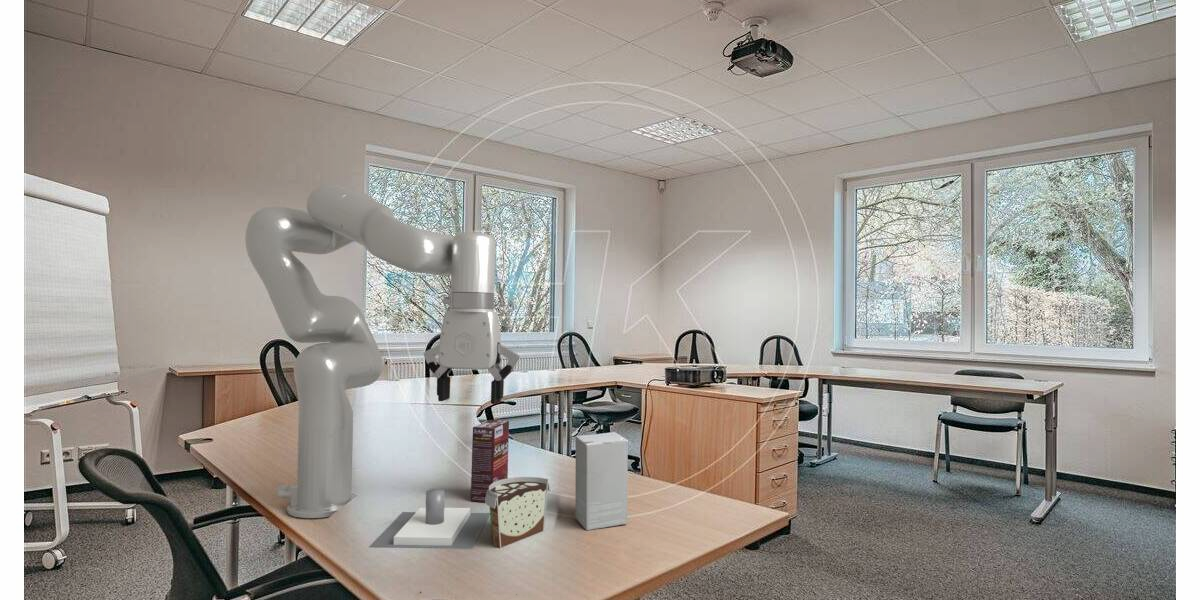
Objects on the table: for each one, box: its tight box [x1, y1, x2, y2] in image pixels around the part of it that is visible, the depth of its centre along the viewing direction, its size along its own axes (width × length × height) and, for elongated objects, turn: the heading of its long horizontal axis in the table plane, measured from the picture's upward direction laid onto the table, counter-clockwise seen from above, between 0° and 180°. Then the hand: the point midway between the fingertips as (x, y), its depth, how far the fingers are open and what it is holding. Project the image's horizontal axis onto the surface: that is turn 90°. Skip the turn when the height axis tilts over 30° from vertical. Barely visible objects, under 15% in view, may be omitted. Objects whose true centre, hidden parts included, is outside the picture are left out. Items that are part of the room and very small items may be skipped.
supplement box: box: [470, 419, 510, 504], centre depth 117 cm, size 9×5×16 cm, turn 168°
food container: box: [484, 476, 551, 549], centre depth 97 cm, size 12×6×10 cm, turn 141°
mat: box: [368, 511, 490, 550], centre depth 99 cm, size 16×16×2 cm
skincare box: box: [575, 431, 629, 531], centre depth 108 cm, size 8×7×16 cm
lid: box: [394, 488, 472, 546], centre depth 99 cm, size 9×14×6 cm, turn 0°
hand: (469, 401), depth 103 cm, fingers open, 9 cm apart
